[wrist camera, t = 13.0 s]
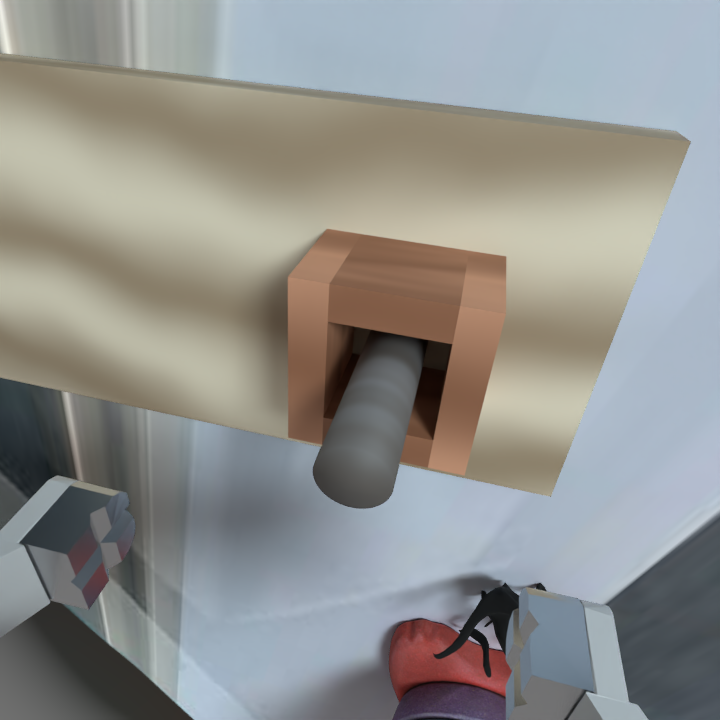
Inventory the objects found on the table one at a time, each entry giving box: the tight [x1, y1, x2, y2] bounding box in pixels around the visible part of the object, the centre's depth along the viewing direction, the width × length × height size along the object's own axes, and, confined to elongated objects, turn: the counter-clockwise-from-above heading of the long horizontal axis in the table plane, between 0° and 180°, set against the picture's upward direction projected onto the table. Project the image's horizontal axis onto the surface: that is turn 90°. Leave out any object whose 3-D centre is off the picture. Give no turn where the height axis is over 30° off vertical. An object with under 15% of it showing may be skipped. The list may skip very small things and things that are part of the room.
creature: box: [433, 583, 546, 678], centre depth 27 cm, size 8×5×8 cm
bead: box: [288, 229, 506, 476], centre depth 18 cm, size 6×6×4 cm
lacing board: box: [0, 53, 690, 508], centre depth 18 cm, size 14×30×10 cm, turn 86°
